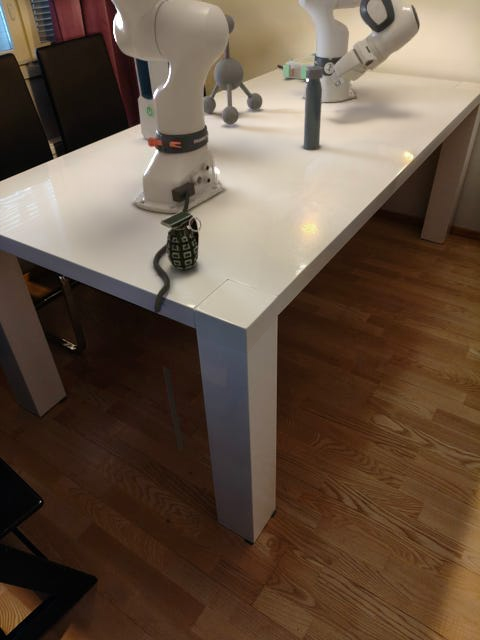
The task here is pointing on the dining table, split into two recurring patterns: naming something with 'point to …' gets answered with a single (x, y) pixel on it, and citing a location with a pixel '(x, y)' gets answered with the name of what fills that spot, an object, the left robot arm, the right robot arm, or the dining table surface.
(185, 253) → the grenade
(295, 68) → the decorative block
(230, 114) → the molecular model
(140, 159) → the dining table surface
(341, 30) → the right robot arm
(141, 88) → the electronic device
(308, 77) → the cap
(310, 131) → the bottle
